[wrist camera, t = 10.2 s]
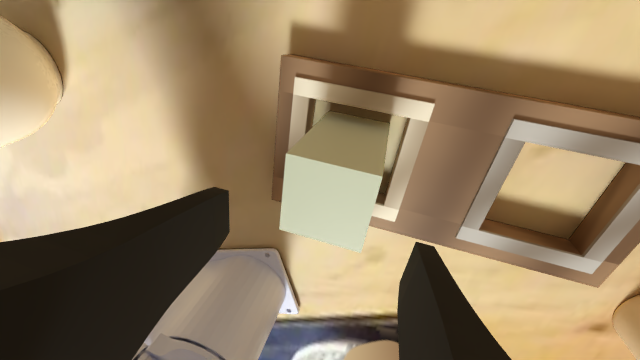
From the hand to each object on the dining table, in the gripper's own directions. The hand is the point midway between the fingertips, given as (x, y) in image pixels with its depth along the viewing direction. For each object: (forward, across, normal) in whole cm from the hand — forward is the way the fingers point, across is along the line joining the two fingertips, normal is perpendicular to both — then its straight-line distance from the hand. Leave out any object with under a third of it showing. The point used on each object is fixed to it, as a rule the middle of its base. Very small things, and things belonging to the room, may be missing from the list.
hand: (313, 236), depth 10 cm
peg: (+10, 0, 0) cm, 10 cm away
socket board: (+10, -6, 0) cm, 12 cm away
